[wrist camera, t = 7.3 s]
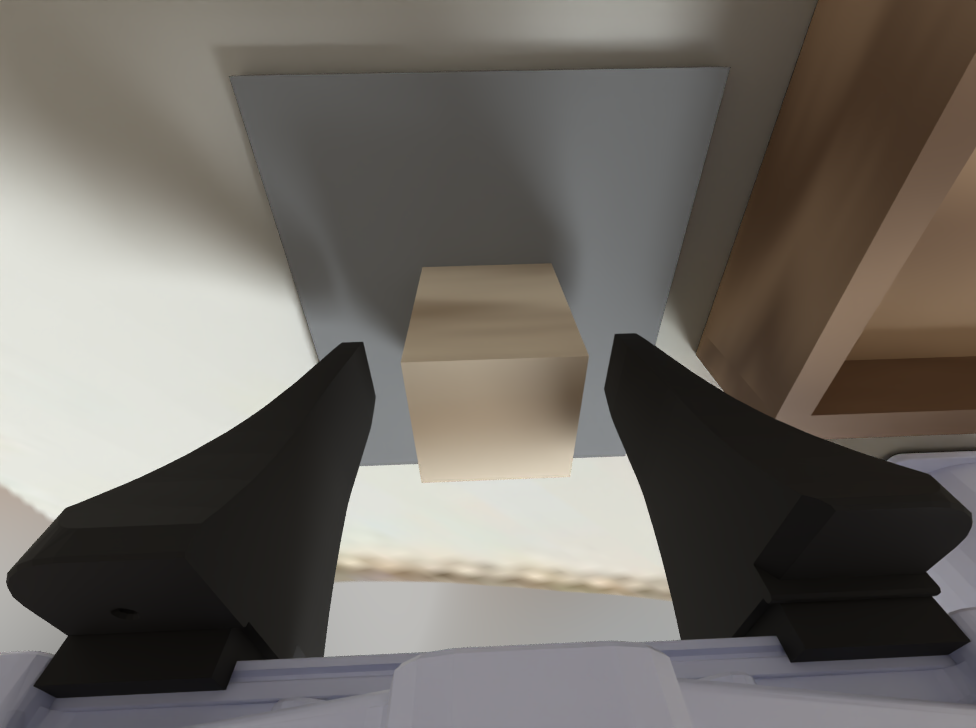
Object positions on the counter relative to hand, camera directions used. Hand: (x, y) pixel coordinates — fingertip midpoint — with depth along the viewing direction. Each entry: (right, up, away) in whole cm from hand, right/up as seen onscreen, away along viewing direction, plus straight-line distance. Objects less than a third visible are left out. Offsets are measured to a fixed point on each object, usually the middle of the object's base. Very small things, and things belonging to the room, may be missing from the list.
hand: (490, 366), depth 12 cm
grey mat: (0, +2, +2) cm, 3 cm away
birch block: (0, +2, +2) cm, 2 cm away
